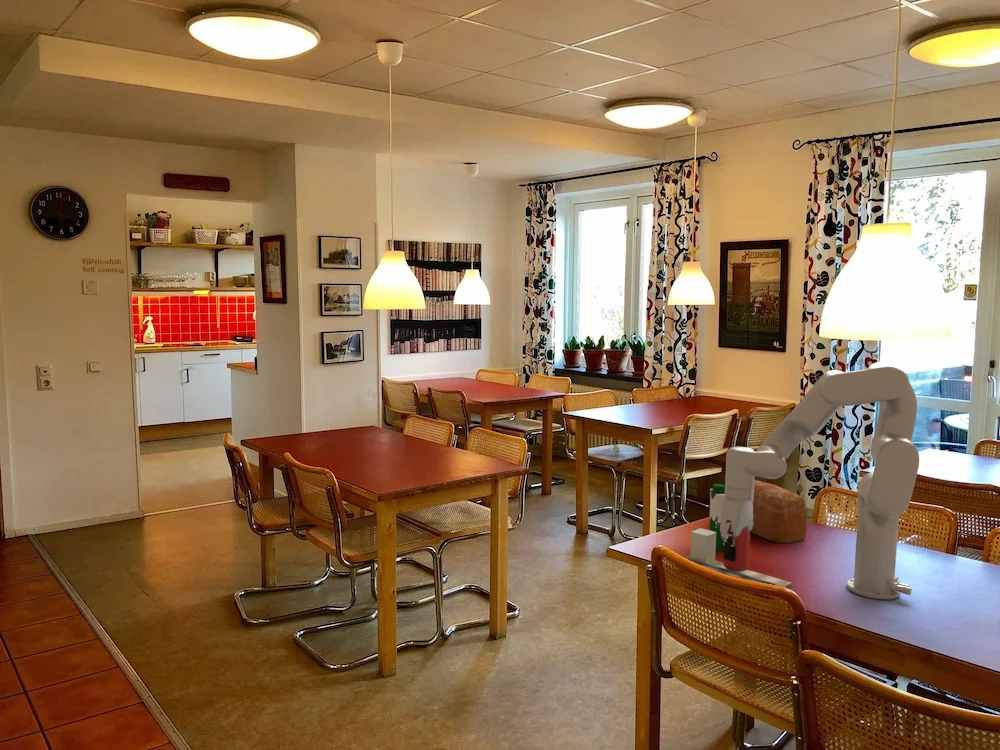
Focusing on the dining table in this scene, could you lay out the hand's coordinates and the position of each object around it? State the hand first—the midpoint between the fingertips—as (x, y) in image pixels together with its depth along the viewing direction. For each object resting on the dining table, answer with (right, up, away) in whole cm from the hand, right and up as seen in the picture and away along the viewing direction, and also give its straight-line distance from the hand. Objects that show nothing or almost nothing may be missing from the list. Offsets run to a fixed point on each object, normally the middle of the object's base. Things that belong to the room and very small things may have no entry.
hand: (736, 556), depth 208 cm
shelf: (0, -5, +1) cm, 6 cm away
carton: (-7, -4, +8) cm, 11 cm away
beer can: (0, -3, 0) cm, 3 cm away
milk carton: (+3, -4, +22) cm, 23 cm away
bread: (+22, -2, +43) cm, 48 cm away
